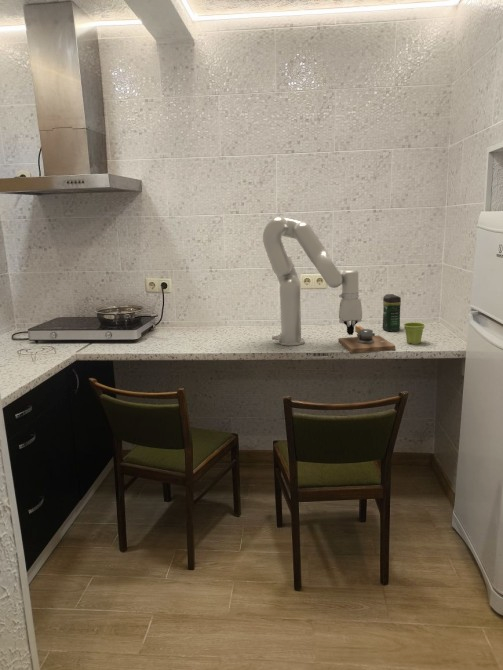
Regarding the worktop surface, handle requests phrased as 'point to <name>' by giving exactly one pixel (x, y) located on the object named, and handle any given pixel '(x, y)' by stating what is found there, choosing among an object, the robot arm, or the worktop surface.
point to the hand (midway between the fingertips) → (350, 334)
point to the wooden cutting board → (366, 344)
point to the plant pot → (414, 332)
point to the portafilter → (364, 333)
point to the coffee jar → (391, 312)
